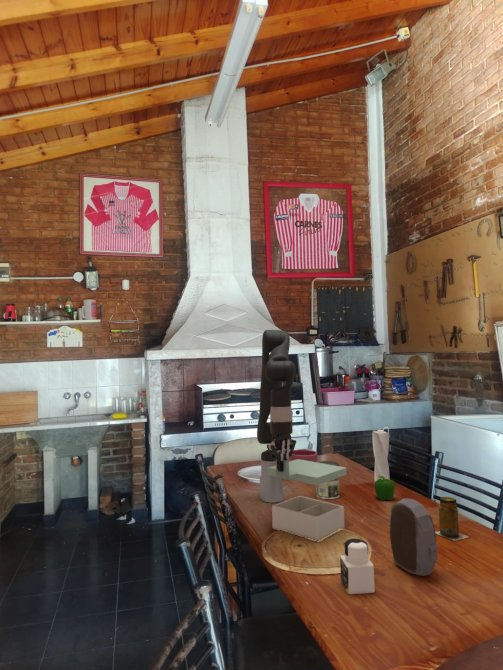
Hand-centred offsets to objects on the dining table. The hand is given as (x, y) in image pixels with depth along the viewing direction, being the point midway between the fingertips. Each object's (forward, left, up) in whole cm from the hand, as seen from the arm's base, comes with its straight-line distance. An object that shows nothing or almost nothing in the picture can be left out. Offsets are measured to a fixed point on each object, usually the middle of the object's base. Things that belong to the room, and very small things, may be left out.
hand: (282, 470), depth 156 cm
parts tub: (0, +14, -23) cm, 27 cm away
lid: (0, +11, -4) cm, 12 cm away
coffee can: (-17, +51, -23) cm, 58 cm away
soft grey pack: (+42, +9, -23) cm, 49 cm away
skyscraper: (-5, +78, -23) cm, 81 cm away
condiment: (+40, +41, -23) cm, 61 cm away
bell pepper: (+4, +63, -23) cm, 67 cm away
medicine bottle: (+35, -11, -23) cm, 44 cm away
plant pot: (-44, +69, -23) cm, 85 cm away
